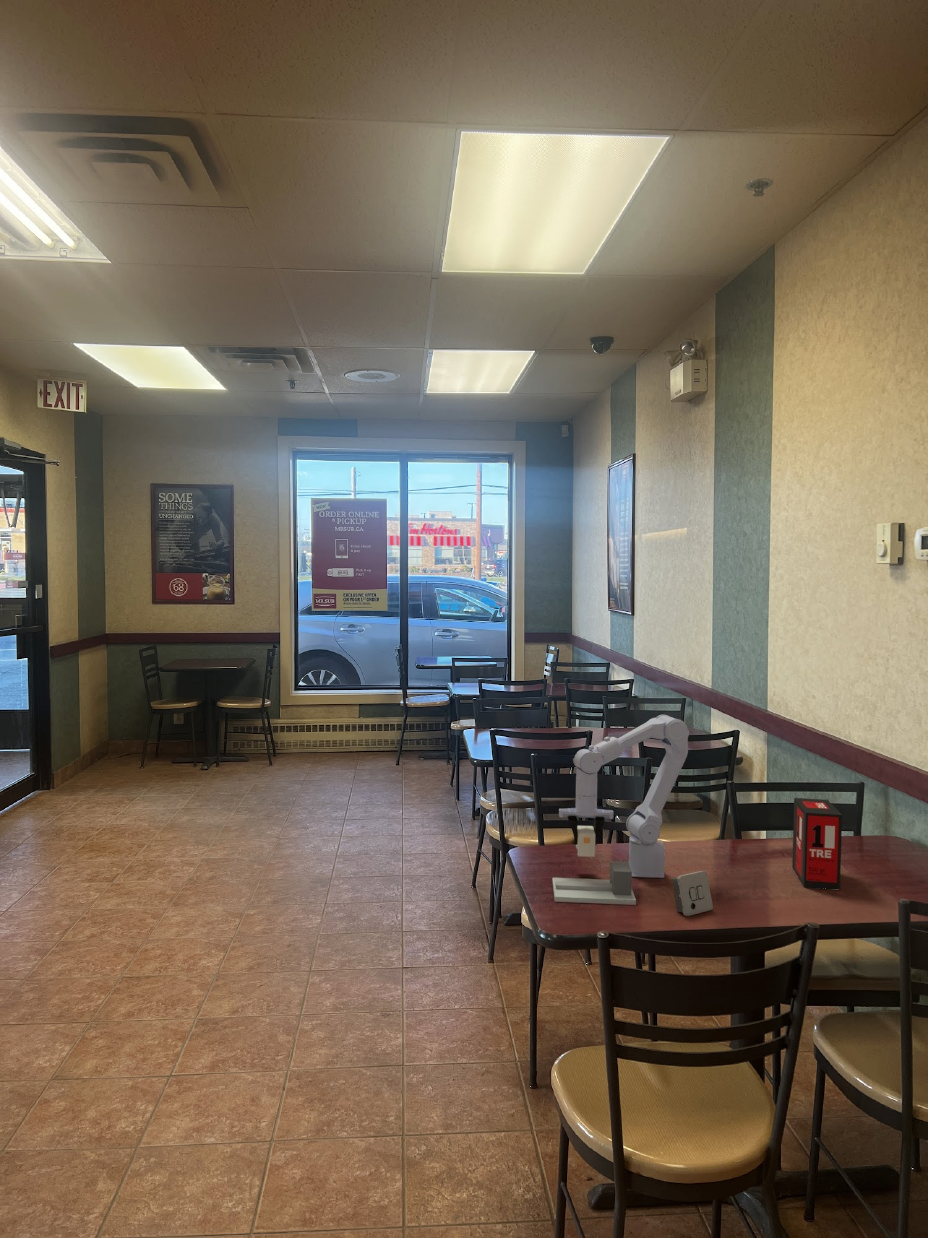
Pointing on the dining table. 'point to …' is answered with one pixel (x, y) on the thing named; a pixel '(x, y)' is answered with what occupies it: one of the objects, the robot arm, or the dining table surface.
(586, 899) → the rail plate
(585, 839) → the block
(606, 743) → the robot arm
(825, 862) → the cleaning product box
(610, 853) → the dining table surface
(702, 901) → the electrical switch
